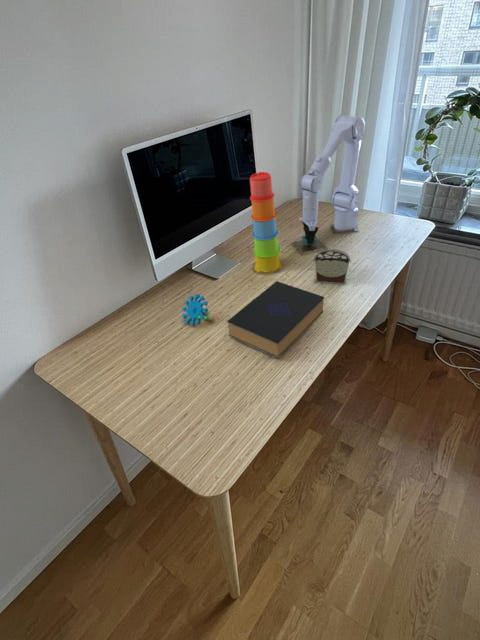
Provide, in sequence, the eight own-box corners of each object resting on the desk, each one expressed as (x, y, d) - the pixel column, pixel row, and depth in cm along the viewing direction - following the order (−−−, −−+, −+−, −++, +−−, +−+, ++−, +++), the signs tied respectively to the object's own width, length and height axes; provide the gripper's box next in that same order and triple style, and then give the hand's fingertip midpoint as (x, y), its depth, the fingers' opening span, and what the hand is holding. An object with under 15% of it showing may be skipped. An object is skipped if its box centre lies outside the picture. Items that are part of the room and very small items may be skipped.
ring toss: (314, 239, 159) (315, 227, 156) (326, 249, 151) (326, 237, 148) (292, 244, 157) (292, 232, 154) (303, 254, 149) (303, 242, 146)
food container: (349, 275, 135) (352, 249, 129) (348, 284, 130) (351, 258, 124) (314, 272, 138) (315, 247, 132) (312, 281, 133) (313, 256, 127)
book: (229, 338, 112) (227, 320, 108) (276, 297, 127) (276, 280, 123) (278, 361, 103) (277, 342, 99) (323, 314, 118) (324, 296, 114)
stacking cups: (282, 273, 139) (281, 177, 118) (254, 275, 140) (248, 180, 119) (280, 259, 147) (278, 167, 126) (253, 261, 148) (247, 170, 127)
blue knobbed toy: (175, 313, 122) (192, 287, 120) (187, 317, 126) (203, 292, 125) (195, 333, 115) (212, 305, 114) (207, 336, 120) (224, 310, 119)
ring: (315, 238, 155) (315, 233, 154) (317, 244, 150) (317, 240, 149) (301, 239, 155) (301, 234, 154) (302, 245, 151) (302, 240, 150)
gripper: (298, 200, 150) (297, 232, 158) (301, 215, 139) (300, 248, 147) (316, 199, 150) (314, 231, 158) (321, 214, 138) (319, 247, 146)
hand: (309, 240), depth 152 cm, fingers closed on ring, 5 cm apart
